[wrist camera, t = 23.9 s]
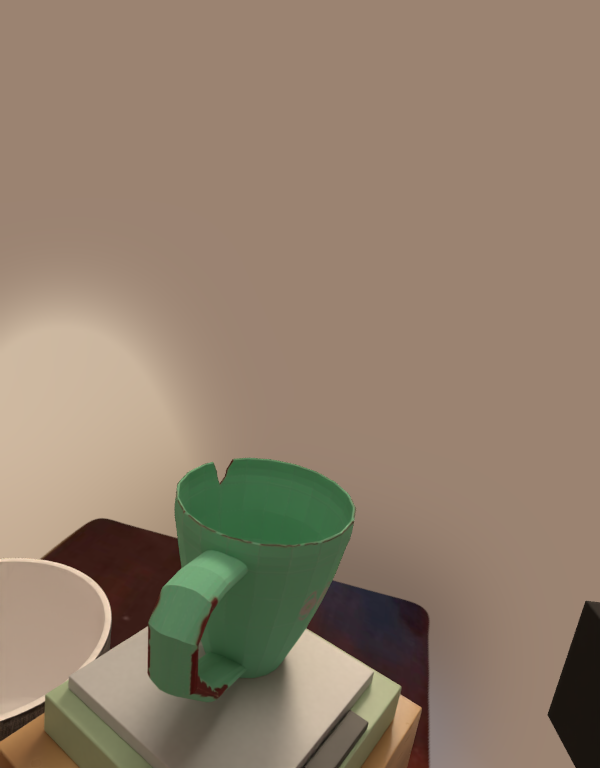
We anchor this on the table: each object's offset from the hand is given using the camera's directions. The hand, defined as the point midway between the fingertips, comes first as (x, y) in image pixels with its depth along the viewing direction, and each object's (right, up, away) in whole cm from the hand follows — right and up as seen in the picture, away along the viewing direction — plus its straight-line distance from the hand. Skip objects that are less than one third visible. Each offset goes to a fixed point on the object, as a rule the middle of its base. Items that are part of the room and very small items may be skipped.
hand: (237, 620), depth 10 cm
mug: (-3, -12, +20) cm, 23 cm away
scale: (-3, -15, +21) cm, 26 cm away
